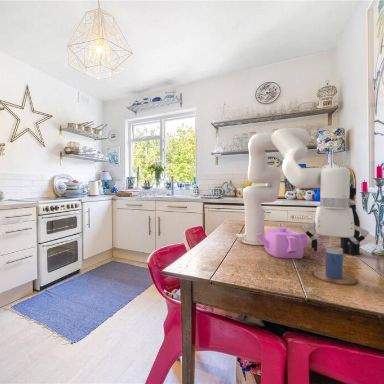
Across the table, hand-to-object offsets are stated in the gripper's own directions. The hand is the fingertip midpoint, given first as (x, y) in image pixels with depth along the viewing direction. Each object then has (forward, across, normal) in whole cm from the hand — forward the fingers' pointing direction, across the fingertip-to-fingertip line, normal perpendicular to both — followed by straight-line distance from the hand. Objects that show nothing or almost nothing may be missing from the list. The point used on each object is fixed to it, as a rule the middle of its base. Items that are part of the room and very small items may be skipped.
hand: (332, 252), depth 81 cm
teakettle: (+10, +15, -24) cm, 29 cm away
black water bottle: (+10, -12, -40) cm, 42 cm away
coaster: (+9, 0, 0) cm, 9 cm away
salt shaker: (+8, 0, +1) cm, 8 cm away
